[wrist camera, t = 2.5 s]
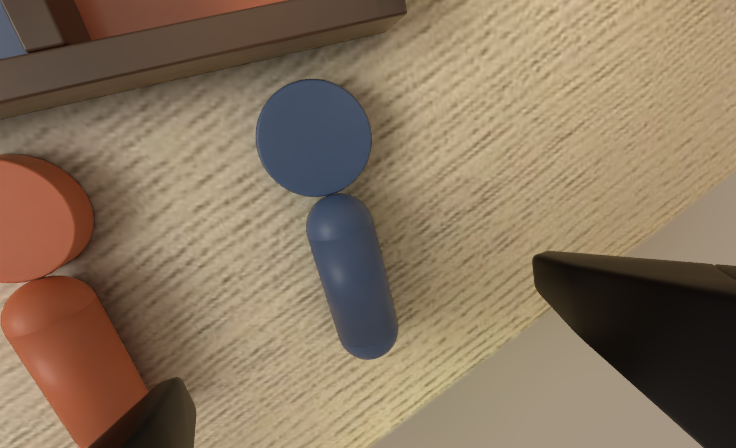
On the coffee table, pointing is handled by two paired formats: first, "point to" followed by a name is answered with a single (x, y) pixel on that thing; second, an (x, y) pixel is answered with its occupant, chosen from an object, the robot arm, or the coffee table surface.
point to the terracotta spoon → (59, 301)
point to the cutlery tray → (159, 41)
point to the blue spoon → (332, 204)
